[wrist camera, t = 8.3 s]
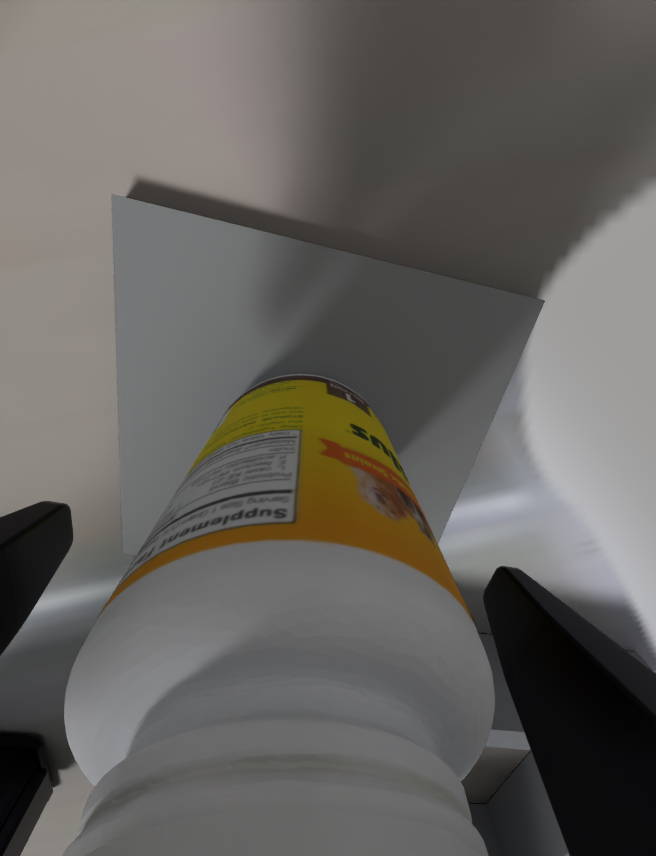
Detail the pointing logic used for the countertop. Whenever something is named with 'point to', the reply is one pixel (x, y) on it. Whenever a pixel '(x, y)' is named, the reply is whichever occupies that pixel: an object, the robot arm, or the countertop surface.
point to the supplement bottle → (284, 655)
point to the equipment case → (516, 785)
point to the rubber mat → (296, 349)
